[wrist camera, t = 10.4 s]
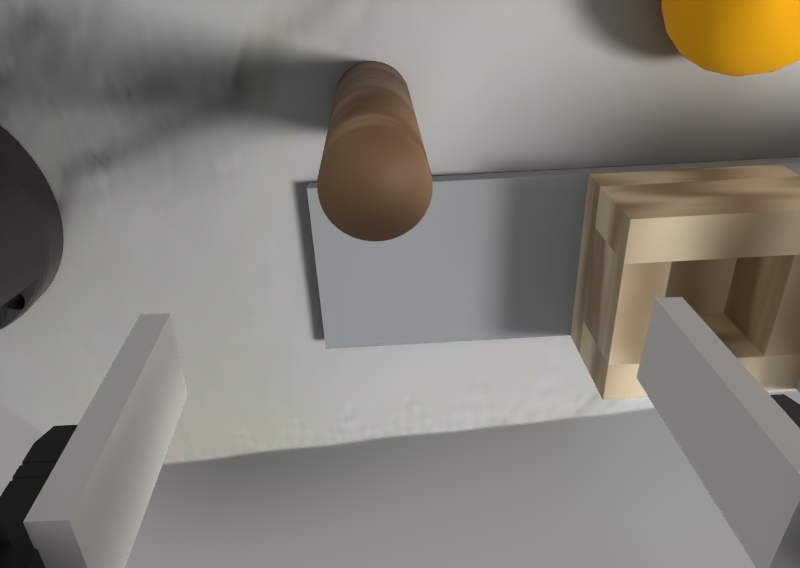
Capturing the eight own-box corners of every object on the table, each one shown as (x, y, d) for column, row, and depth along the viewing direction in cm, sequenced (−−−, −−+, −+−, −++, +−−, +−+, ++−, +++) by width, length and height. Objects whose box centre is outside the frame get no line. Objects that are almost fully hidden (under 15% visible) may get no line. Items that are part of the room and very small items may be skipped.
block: (570, 335, 41) (602, 399, 35) (588, 174, 35) (630, 219, 30) (736, 325, 41) (795, 388, 35) (780, 164, 35) (858, 207, 30)
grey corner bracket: (326, 339, 41) (313, 462, 32) (308, 182, 36) (285, 271, 26) (758, 315, 42) (874, 428, 32) (803, 156, 36) (959, 234, 27)
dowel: (338, 137, 35) (322, 244, 22) (332, 62, 33) (311, 134, 20) (410, 134, 35) (433, 238, 22) (408, 59, 33) (432, 128, 21)
